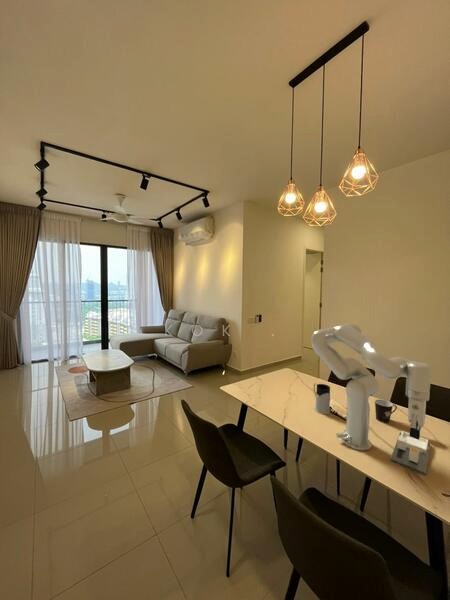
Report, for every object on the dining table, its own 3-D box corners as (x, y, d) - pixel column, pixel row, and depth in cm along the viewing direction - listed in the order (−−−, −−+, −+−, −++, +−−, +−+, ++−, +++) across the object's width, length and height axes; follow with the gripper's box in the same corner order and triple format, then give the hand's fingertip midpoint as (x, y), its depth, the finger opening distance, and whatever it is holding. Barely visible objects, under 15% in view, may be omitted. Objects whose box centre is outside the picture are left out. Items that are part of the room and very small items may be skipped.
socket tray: (426, 453, 113) (426, 450, 113) (398, 443, 120) (399, 440, 119) (427, 442, 120) (428, 439, 120) (402, 433, 127) (402, 430, 127)
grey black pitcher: (319, 415, 146) (321, 390, 145) (307, 403, 160) (308, 380, 159) (333, 413, 148) (334, 388, 147) (319, 402, 162) (320, 379, 161)
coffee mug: (375, 422, 140) (376, 404, 139) (372, 414, 148) (373, 398, 147) (400, 426, 136) (401, 408, 135) (395, 418, 144) (396, 401, 143)
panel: (425, 476, 101) (425, 472, 101) (390, 461, 109) (390, 458, 109) (430, 445, 120) (430, 442, 120) (400, 434, 128) (400, 432, 128)
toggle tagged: (417, 463, 106) (418, 453, 105) (408, 459, 108) (409, 450, 107) (418, 458, 109) (419, 449, 108) (410, 455, 111) (410, 445, 110)
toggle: (405, 450, 113) (405, 442, 113) (397, 447, 115) (397, 439, 115) (406, 446, 116) (407, 438, 116) (398, 443, 118) (399, 435, 118)
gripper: (427, 402, 93) (424, 450, 94) (430, 390, 104) (427, 433, 105) (403, 396, 98) (400, 441, 99) (408, 385, 109) (405, 426, 110)
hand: (414, 437), depth 102 cm, fingers closed
